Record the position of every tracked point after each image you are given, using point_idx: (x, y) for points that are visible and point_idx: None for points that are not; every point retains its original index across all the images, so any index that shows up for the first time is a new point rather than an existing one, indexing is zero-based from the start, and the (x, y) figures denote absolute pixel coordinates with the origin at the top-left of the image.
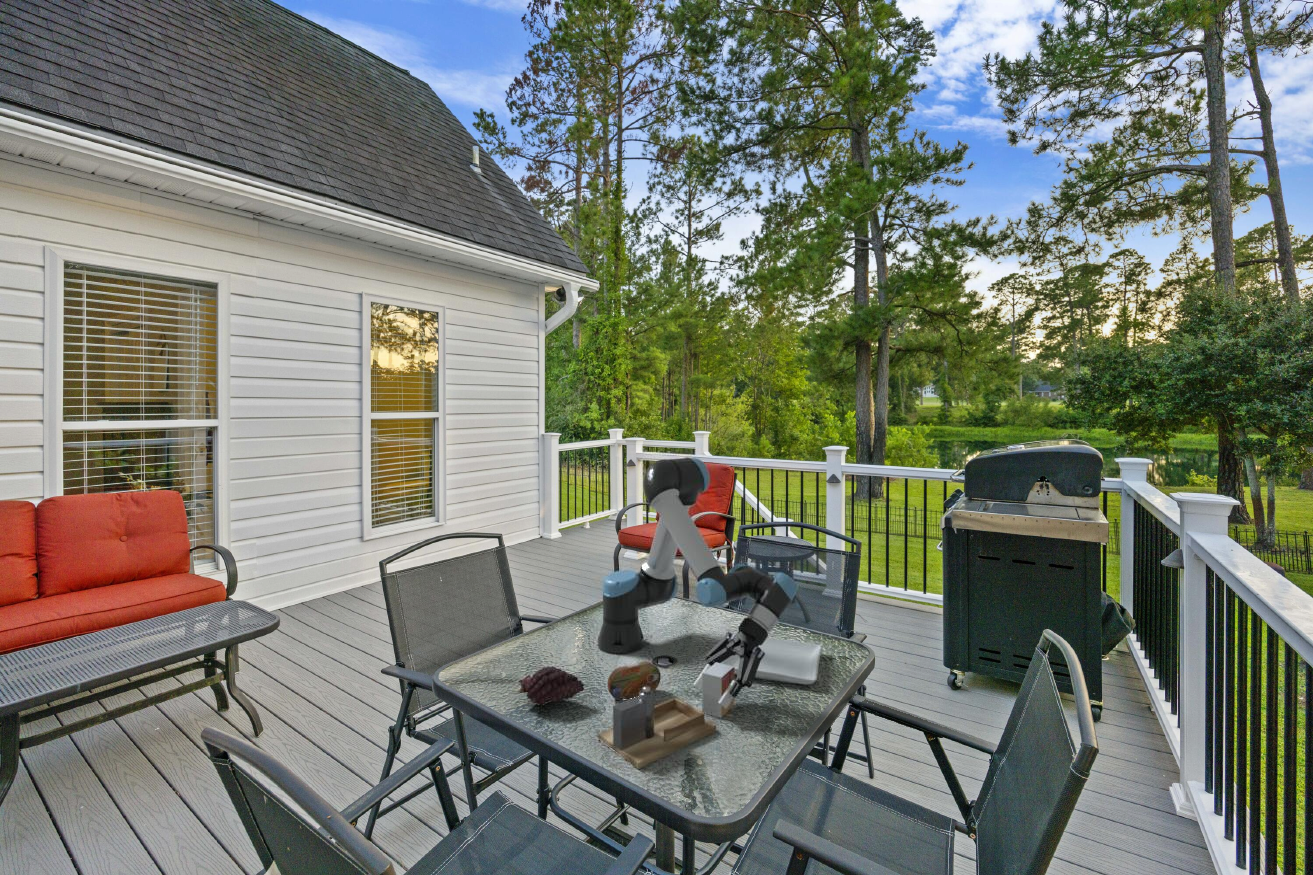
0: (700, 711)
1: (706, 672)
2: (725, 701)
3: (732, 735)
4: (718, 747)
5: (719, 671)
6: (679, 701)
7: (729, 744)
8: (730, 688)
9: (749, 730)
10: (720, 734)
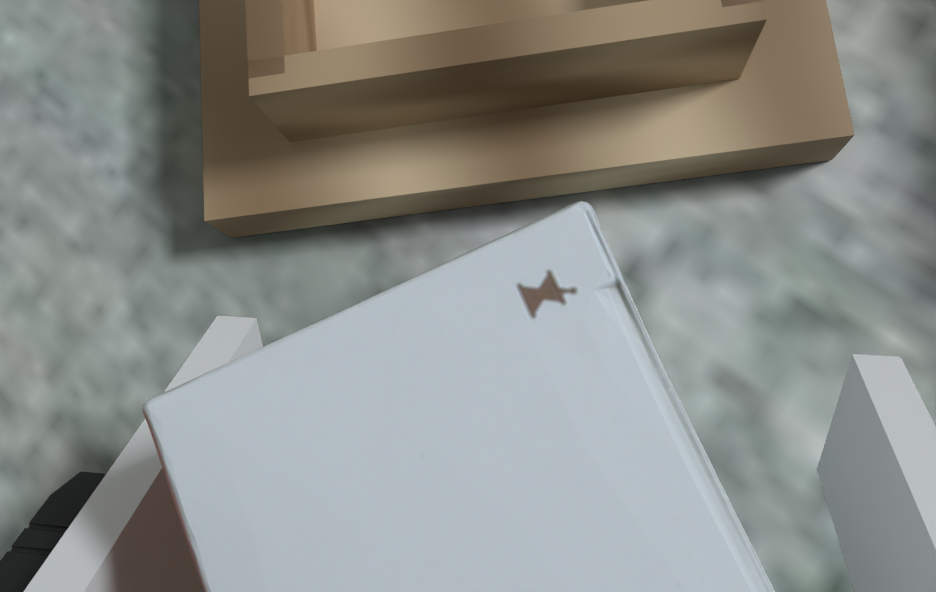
0: (311, 82)
1: (540, 284)
2: None
3: (90, 314)
4: (45, 101)
5: (389, 575)
6: (645, 8)
7: (16, 202)
8: (92, 504)
9: None
10: (167, 235)
